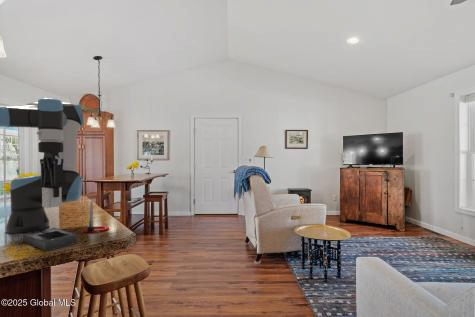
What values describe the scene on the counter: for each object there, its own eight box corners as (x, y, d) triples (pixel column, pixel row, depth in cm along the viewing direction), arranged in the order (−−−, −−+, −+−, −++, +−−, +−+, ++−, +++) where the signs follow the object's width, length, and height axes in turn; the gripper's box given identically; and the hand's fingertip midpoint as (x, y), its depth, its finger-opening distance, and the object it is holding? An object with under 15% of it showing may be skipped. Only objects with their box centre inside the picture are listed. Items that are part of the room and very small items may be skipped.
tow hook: (95, 228, 120) (80, 233, 111) (96, 199, 120) (81, 201, 111) (112, 228, 119) (98, 234, 109) (113, 199, 119) (99, 202, 110)
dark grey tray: (24, 241, 100) (24, 233, 100) (54, 235, 108) (54, 227, 108) (45, 251, 90) (45, 241, 90) (76, 242, 98) (76, 234, 98)
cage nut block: (42, 206, 97) (41, 187, 97) (56, 204, 101) (55, 186, 101) (47, 207, 95) (47, 188, 95) (61, 206, 98) (61, 186, 98)
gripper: (29, 142, 99) (30, 204, 100) (49, 140, 90) (51, 209, 90) (52, 143, 106) (53, 201, 106) (73, 141, 96) (74, 206, 96)
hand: (52, 205), depth 98 cm, fingers closed on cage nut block, 4 cm apart
